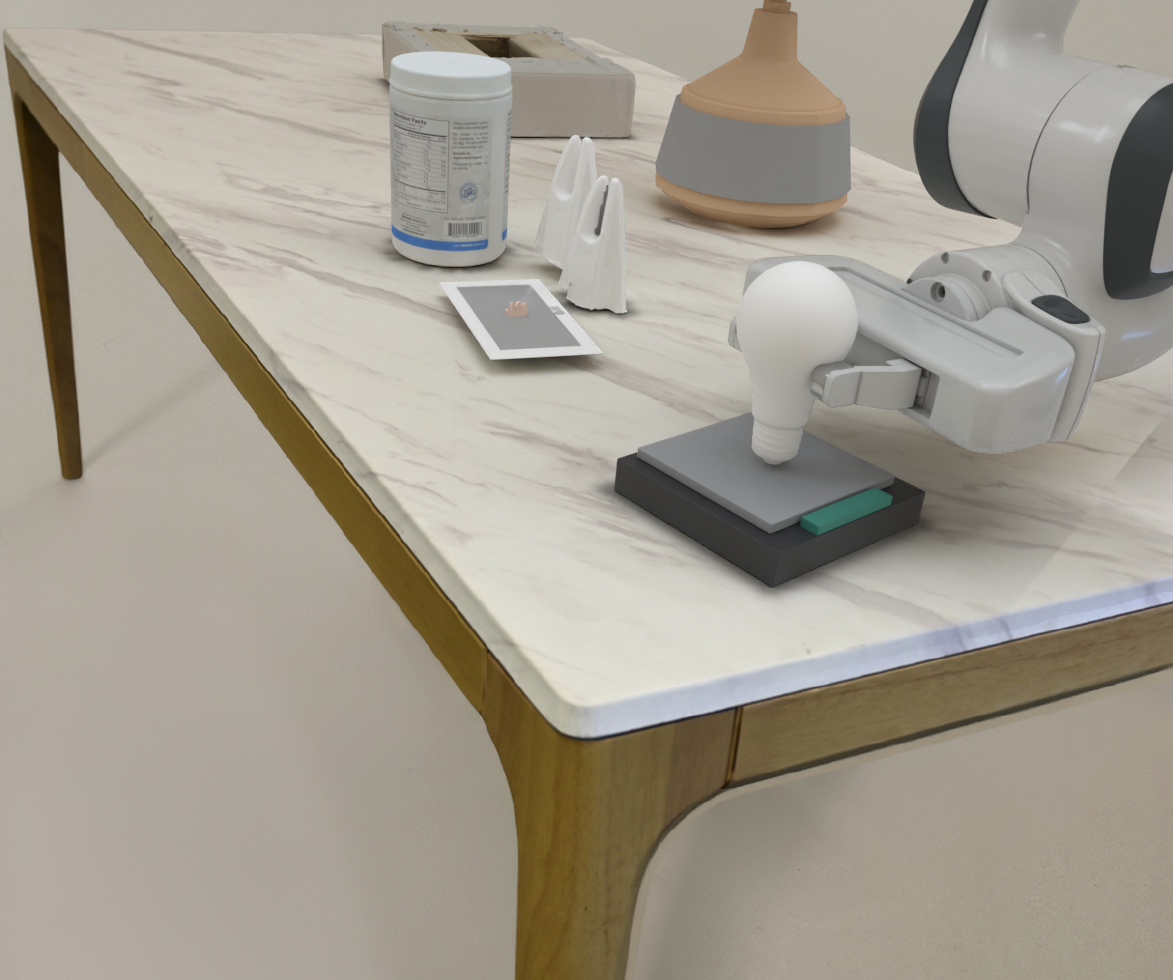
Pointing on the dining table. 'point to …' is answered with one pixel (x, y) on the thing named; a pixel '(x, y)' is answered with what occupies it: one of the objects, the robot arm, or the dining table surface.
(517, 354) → the touchpad
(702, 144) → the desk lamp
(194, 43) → the dining table surface
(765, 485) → the scale
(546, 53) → the box
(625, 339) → the dining table surface
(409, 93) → the supplement tub
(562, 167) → the shaker set
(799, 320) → the lightbulb
